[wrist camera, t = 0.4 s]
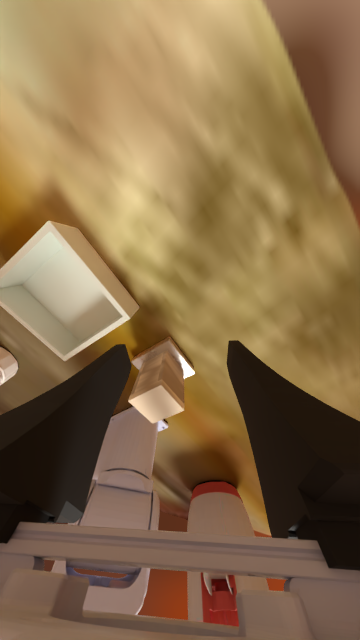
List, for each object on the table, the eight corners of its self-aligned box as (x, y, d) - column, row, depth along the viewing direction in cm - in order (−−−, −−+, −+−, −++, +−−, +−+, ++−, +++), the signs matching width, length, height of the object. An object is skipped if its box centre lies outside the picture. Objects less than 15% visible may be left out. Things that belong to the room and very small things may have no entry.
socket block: (159, 383, 24) (152, 423, 18) (142, 363, 23) (127, 401, 17) (183, 371, 23) (184, 410, 17) (166, 350, 22) (160, 384, 16)
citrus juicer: (235, 467, 36) (290, 690, 17) (248, 499, 42) (300, 688, 24) (174, 477, 38) (166, 683, 20) (195, 506, 44) (204, 682, 26)
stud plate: (159, 385, 26) (152, 421, 20) (133, 356, 24) (117, 388, 18) (194, 368, 24) (197, 401, 19) (169, 336, 22) (165, 363, 17)
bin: (83, 344, 23) (64, 361, 19) (19, 282, 20) (-19, 288, 16) (139, 307, 21) (130, 318, 17) (77, 228, 17) (48, 220, 13)
